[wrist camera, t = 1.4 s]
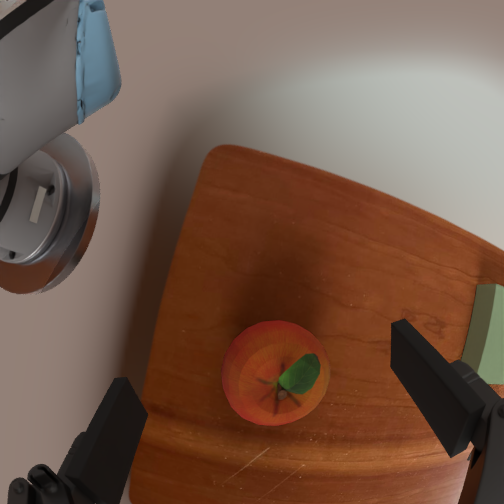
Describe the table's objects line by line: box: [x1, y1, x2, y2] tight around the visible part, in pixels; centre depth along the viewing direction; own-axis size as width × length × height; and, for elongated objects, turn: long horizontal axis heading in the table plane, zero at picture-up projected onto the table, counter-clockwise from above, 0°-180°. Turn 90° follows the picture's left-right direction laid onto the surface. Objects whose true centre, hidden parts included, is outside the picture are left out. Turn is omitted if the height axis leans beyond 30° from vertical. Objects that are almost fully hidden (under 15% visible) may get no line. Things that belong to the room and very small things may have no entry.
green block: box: [461, 284, 504, 384], centre depth 29 cm, size 13×13×4 cm
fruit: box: [221, 320, 330, 426], centre depth 23 cm, size 10×10×10 cm
